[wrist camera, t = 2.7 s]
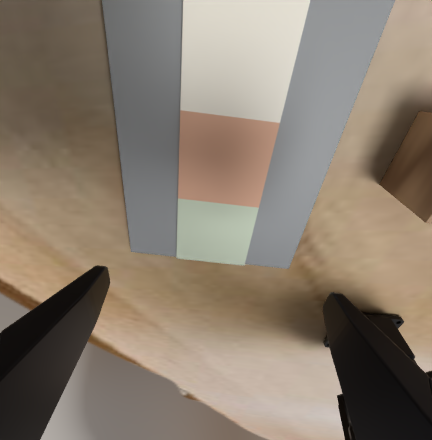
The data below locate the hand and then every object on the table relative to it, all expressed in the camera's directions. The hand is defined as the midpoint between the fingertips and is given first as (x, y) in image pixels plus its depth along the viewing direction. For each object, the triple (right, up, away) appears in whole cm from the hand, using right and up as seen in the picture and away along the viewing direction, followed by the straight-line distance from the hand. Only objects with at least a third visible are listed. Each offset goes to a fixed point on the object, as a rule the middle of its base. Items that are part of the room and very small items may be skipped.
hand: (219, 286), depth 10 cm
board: (0, +7, +7) cm, 10 cm away
